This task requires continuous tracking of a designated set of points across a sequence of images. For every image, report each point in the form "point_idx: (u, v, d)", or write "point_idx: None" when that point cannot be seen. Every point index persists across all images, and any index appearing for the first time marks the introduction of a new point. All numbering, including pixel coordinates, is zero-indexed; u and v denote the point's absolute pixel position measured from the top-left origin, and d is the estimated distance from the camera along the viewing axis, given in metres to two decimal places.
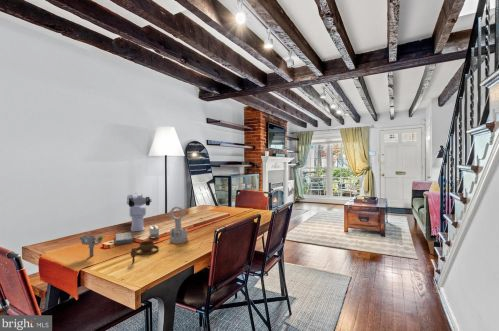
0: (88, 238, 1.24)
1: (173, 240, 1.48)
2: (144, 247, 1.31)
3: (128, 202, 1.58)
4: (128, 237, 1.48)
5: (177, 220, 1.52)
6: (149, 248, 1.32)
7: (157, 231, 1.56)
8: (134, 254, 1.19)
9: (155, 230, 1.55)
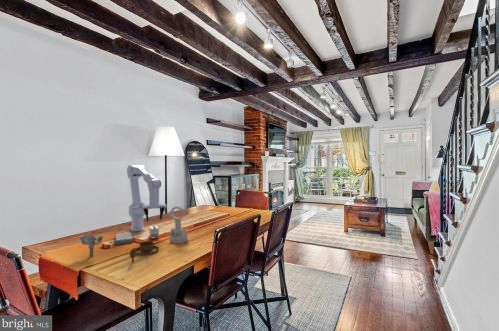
0: (88, 238, 1.24)
1: (173, 240, 1.48)
2: (144, 247, 1.31)
3: None
4: (128, 237, 1.48)
5: (177, 220, 1.52)
6: (149, 248, 1.32)
7: (157, 231, 1.56)
8: (133, 254, 1.19)
9: (155, 230, 1.55)
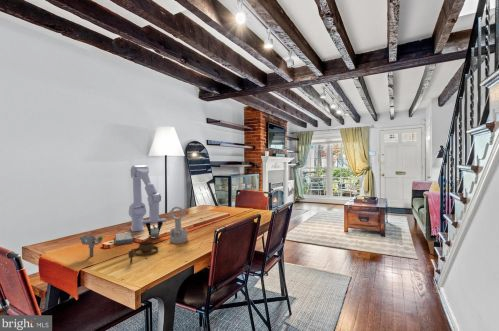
0: (88, 238, 1.24)
1: (173, 240, 1.48)
2: (143, 248, 1.30)
3: (143, 223, 1.55)
4: (128, 237, 1.48)
5: (177, 220, 1.52)
6: (148, 249, 1.31)
7: (157, 231, 1.56)
8: (132, 255, 1.18)
9: (155, 230, 1.55)
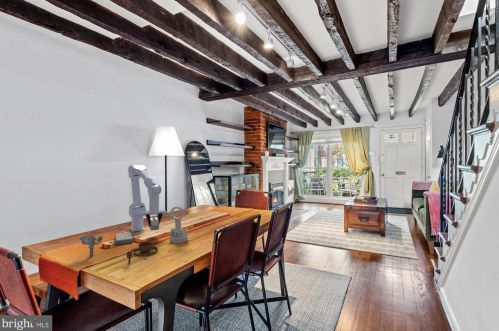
0: (88, 238, 1.24)
1: (173, 240, 1.48)
2: (142, 248, 1.30)
3: None
4: (128, 237, 1.48)
5: (177, 220, 1.52)
6: (147, 249, 1.30)
7: (157, 223, 1.56)
8: (130, 255, 1.18)
9: (155, 222, 1.55)
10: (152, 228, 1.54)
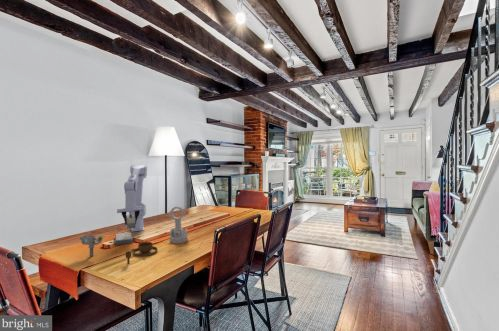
0: (88, 238, 1.24)
1: (173, 240, 1.48)
2: (142, 248, 1.29)
3: (118, 212, 1.49)
4: (128, 237, 1.48)
5: (177, 220, 1.52)
6: (147, 249, 1.30)
7: (133, 220, 1.49)
8: (129, 255, 1.17)
9: (131, 219, 1.49)
10: (128, 226, 1.48)
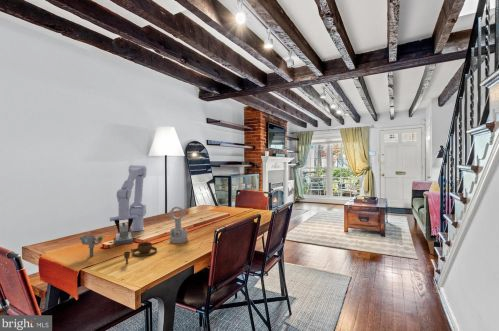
0: (88, 238, 1.24)
1: (173, 240, 1.48)
2: (141, 248, 1.29)
3: (111, 220, 1.47)
4: (128, 237, 1.48)
5: (177, 220, 1.52)
6: (146, 250, 1.30)
7: (126, 229, 1.48)
8: (127, 255, 1.17)
9: (124, 228, 1.47)
10: (121, 234, 1.46)
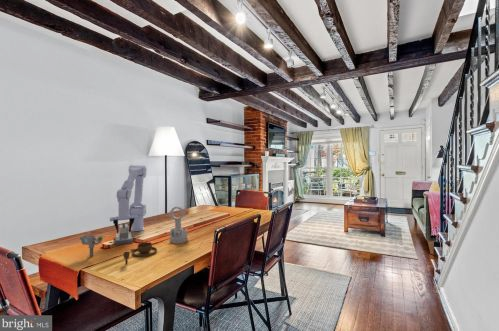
0: (88, 238, 1.24)
1: (173, 240, 1.48)
2: (141, 249, 1.29)
3: (111, 220, 1.47)
4: (128, 237, 1.48)
5: (177, 220, 1.52)
6: (146, 250, 1.29)
7: (126, 230, 1.48)
8: (127, 256, 1.17)
9: (124, 229, 1.47)
10: (121, 236, 1.46)
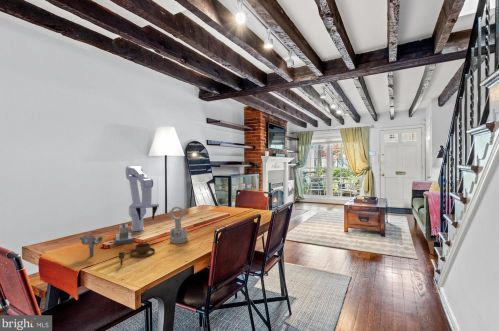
0: (88, 238, 1.24)
1: (173, 240, 1.48)
2: (138, 249, 1.28)
3: (135, 208, 1.57)
4: (128, 237, 1.48)
5: (177, 220, 1.52)
6: (143, 251, 1.28)
7: (126, 230, 1.48)
8: (121, 256, 1.16)
9: (124, 229, 1.47)
10: (121, 236, 1.46)
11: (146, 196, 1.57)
